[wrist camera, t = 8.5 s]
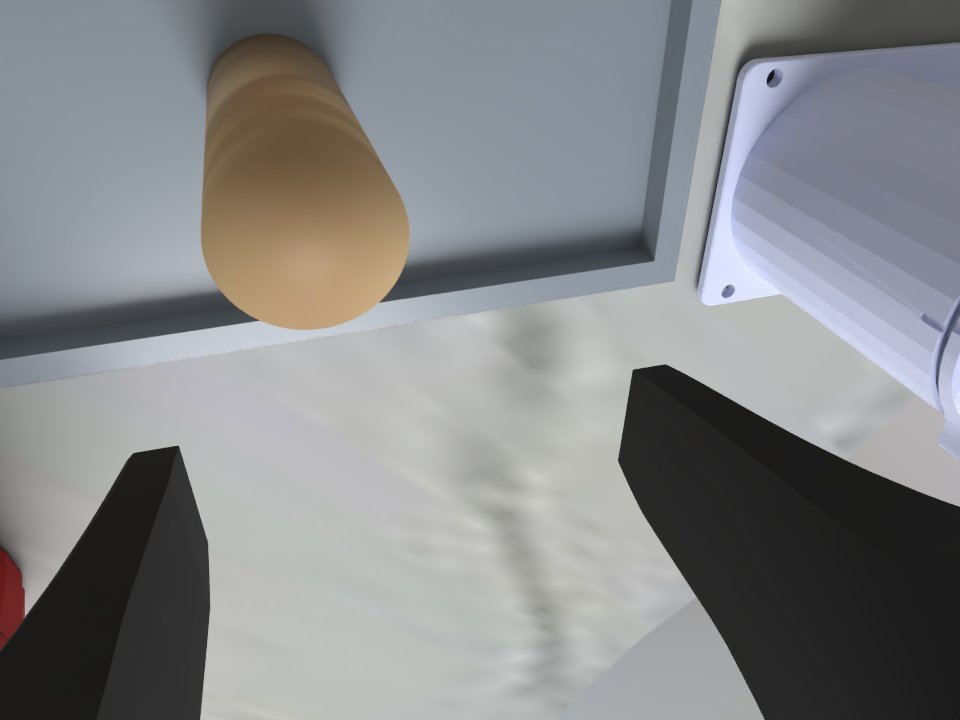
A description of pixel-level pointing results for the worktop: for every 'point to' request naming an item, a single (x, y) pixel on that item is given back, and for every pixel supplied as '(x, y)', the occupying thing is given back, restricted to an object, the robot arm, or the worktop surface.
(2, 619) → the plastic cup
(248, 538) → the worktop surface
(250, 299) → the dowel pin
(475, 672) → the worktop surface
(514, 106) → the tray
